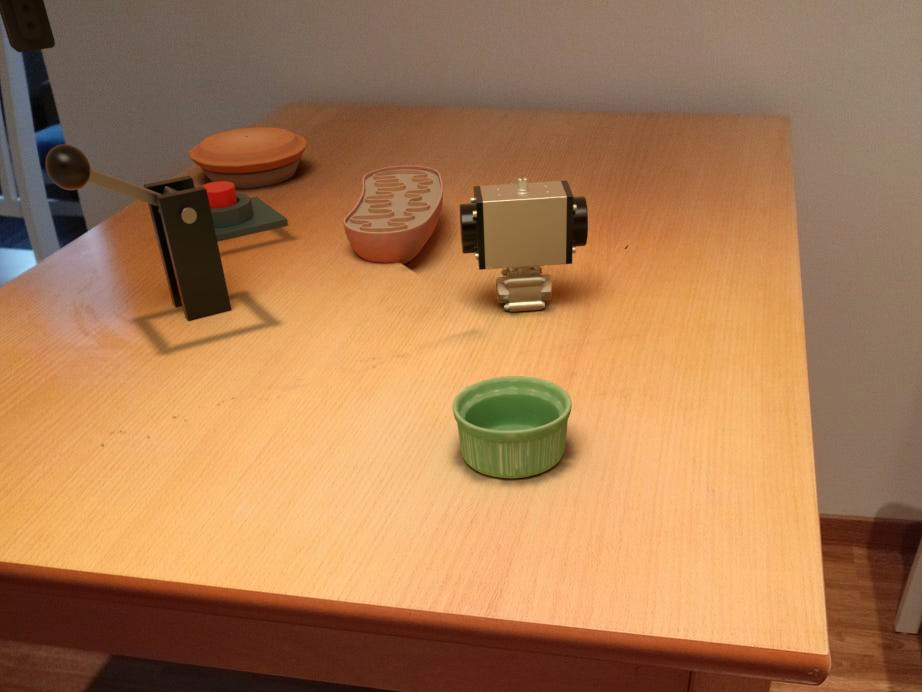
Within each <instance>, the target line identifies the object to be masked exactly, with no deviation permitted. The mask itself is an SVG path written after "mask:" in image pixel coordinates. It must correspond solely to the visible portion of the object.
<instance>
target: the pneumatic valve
mask: <svg viewBox="0 0 922 692" xmlns="http://www.w3.org/2000/svg"><path fill="white" fill-rule="evenodd" d="M522 178H523V179H522ZM516 179H517V180H516V183H515V182H510V183H504V184H491V185H490V184H489V185H488V184H487V185H474V186H473V196H472V197H470V203H469V202H468V203H459V227H460V228H459V229H460V242H461V252H462V254H463V255H466V254H474V260H477V265H478V270H479V271H481V270H484V271H485V270H499V269H502V270H500V273H501V275H502V276H497V278H496V282H495V283H496V297H497V298H496V300H497V303H499V304H504V305H503V309H505V311H508V312H509V313H517V312H531V311H542V309H544V308H545V307H546V306H545V305H546V304H545V301H550V300H551V299H552V293H553V292H552V291H553V286H552V276H551V275H550V274H549V273H543V267H544V266H545V267H546V266H559V265H560V266H561V265H573V254H576V253H577V248H576V247H586V245H587V243H588V236H589V213H588V211H589V210H588V203H587V199H586V196H584V195H581V196H580V195H579V196H574V194H573V192H572V191H573V190H572V189H571V187H570V183H569V182H568V180H566V179H565V180H552V181H551V180H550V181H539V182H538V181H537V182H535V181H534V182H530V181H528V177H527V176H522V177H521V176H520V177H517V178H516Z"/></svg>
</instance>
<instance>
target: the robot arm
mask: <svg viewBox="0 0 922 692" xmlns="http://www.w3.org/2000/svg"><path fill="white" fill-rule="evenodd" d="M0 17H1V20H2V24H3V26H4V31H5V33H6V37H7V40H8V43H9V46H10V47H11V49H13V50H15V52H17V53H26V52H33V51H39V50H45V49H53V48H54V47H55V45H56V40H55V37H54V34H53V30H52V27H51V23H50V18H49V16H48V12H47V8H46V5H45V1H44V0H0Z"/></svg>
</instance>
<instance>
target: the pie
mask: <svg viewBox="0 0 922 692" xmlns="http://www.w3.org/2000/svg"><path fill="white" fill-rule="evenodd" d="M307 146H308V142H307V140H306V138H304V137H303V136H302V135H300V134H298V133H294V132H292V131H290V130H288V129H284V128H281V127H269V126H259V127H258V126H256V127H241V128H236V129H235V128H234V129H229V130H225V131H221V132H218V133H215V134H212V135H209V136H207V137H206V138H204V139H202V140H201V141H200V142H199V144H197V145H195V146H193V147H192V148H191V149H190V150H189V151H188V155H189V159H190V160H191V161H192V162H193V163H194V164H196V165H197V166H198V167H199V168H201V171H202V172H203V174H205V176H206V177H207V178H208V180H210V182H217V181H226V182H231V183H233V184H234V185H235V190H249V189H250V190H251V189H259V188H265V187H271V186H274V185H278V184H281V183H283V182H286V181H288V180H289V179H291V178H293V177H294V175H295V173H296V171H297V169H298V166H299V164H300V162H301V158H302V156H303V155H304V153H305V151H306V148H307Z"/></svg>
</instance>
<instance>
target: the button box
mask: <svg viewBox="0 0 922 692" xmlns="http://www.w3.org/2000/svg"><path fill="white" fill-rule="evenodd" d="M236 196H237V201H238V203H237V204H235V205H233V206H229V207H224V208H213V209H211V213H212V218H213V223H214V228H215V233H216V237H217V242H223V241H227V240H231V239H236V238H240V237H245V236H248V235H254V234H259V233H262V232H266V231H271V230H275V229H279V228H285V227H288V226H289V222H288V218H287V217H285V216H284V215H282V214H281V213H280V212H278V211H277V210H276V209H274V208H273V207H272V206H271V205H269V204H267V203H266V202H265V201H264V200H261V199H260V198H259V197H258V196H252V197H250V196H249V195H247V194H246V193H242V192H237V191H236Z"/></svg>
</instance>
